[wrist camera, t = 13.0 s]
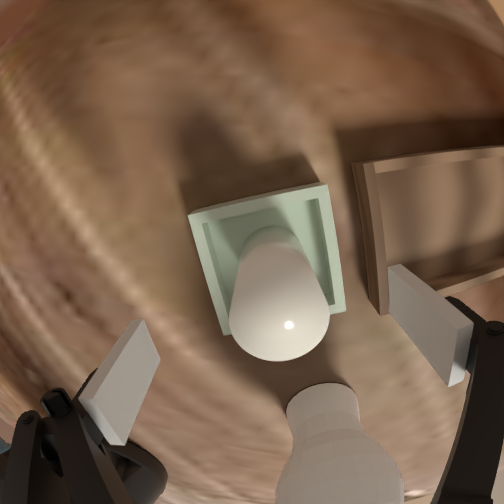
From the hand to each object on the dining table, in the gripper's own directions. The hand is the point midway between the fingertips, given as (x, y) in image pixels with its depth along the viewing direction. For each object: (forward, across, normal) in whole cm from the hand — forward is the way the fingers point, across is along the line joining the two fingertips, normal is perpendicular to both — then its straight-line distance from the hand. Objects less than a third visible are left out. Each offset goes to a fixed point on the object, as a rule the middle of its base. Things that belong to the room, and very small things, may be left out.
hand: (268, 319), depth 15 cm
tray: (+9, +19, 0) cm, 21 cm away
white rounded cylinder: (+9, +1, 0) cm, 9 cm away
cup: (+10, +3, -18) cm, 20 cm away
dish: (+10, +1, 0) cm, 10 cm away
